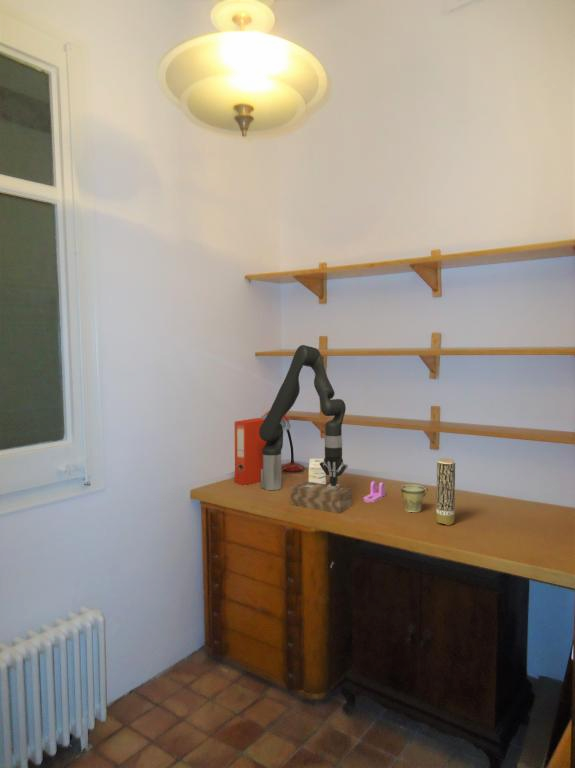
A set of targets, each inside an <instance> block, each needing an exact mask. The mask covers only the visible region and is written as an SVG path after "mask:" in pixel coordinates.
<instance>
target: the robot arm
mask: <svg viewBox="0 0 575 768" xmlns="http://www.w3.org/2000/svg"><path fill="white" fill-rule="evenodd" d="M289 366H290V367H289V368H288V371H287V373H286V376H285V378H284V380H283V382H282V384H281V386H280V388H279V390H278V392H277V394H276V396H275V399H274V401H273V403H272V405H271V407H270V409H269V411H268V413H267V415H266V416H265V418H264V419H265V420H264V421H263V423H262V425H261V426H260V429H259V435H260V437H261V439H262V440H264V441H267V443H266V445H265V446H264V447H263V450H262V456H263V468H262V469H261V482H260V488H261V489H263V490H265V491H278V490H281V489H282V449H283V446H284V428H283V425H282V424H281V421H282V419H283V418H284V417H285V415H286V414H287V413H289V411H290V410H291V409H292V407H293V406H294V404H295V403H296V401H297V398H298V397H299V395H300V390H301V389H300V387H301V386H300V373H301V370H302V368H303V367H304V366H305V367H309V368H311V369H312V370H313V372H314V379H313V386H314V389H315V391H316V393H317V395H318V397H319V404H320V410H321V413H322V414H323V415H324V416H326V417H332V416H333V418H332V419H331V420H328V421H327V422H325V424H324V425H325V426H324V434H325V435H324V458H323V459H324V461H323V462H321V463H320V466H321V467H322V469H323V471H324V472H325V474H326V476H329V484H331V485H334V486H335V485H336V484H338V477H339V476H342V475H343V473H344V472H345V470H346V469H347V468H348V467H349V466H348V464H345V462H344V460H343V436H342V434H343V433H342V428H343V427H342V425H343V421H344V417H345V414H346V409H347V408H346V403H345V401H344V400H343V399H341V398H335V399H333V398H334V396H335V395H336V394H335V390H334V388H333V386H332V383H331V382H330V380H329V377H328V374H327V372H326V368H325V364H324V361H323V358H322V354H321V352H320V350H319V349H317V348H316V347H314V346H309V345H305V344H301V345H299V346H298V347H297V348H296V350H295V352H294V355H293V357H292V360H291V363H290V365H289Z"/></svg>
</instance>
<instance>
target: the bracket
mask: <svg viewBox="0 0 575 768" xmlns="http://www.w3.org/2000/svg"><path fill="white" fill-rule="evenodd" d="M370 482H371V483H370V486H369V487H370V494H367V495H365V496H363V502H365V503H369V502H372V503H376V502H377V500H378V499H379V500H381V499H383V498H384V497H386V494H385V493H386V484H385V482H383V481H382V482H381V481H380V482H379V483H378V487H377V481H375V480H371V481H370ZM377 488H378V489H377ZM377 491H378V492H377ZM383 496H384V497H383ZM382 497H383V498H382ZM380 498H381V499H380ZM379 500H378V501H379ZM375 501H376V502H375Z"/></svg>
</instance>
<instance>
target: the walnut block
mask: <svg viewBox="0 0 575 768" xmlns="http://www.w3.org/2000/svg"><path fill="white" fill-rule="evenodd" d="M307 484H308V485H315V486H314V487H312V488H310V487H303V486H305V485H307ZM327 485H329V484H327V483H326V484H321V483H314V482H309V481H306V480H303V481H301V482H299V483H296V484H295V485H292V486H290V505H291V504H292V505H291V506H294V505H298V506H297V507H300V506H303V507H302V508H306V507H308V508H307V509H311V508H313V509H312V510H317V509H318V511H324V512H328V513H335V514H342V513H343V512H345V511H346V510H348V509H349V508H351V507H352V505H353V502H352V501H353V500H352V498H353V492H352V490H353V488H352V487H347V486H341V485H340V489H339V490H338V491H330V490H327Z"/></svg>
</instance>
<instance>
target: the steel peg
mask: <svg viewBox="0 0 575 768" xmlns="http://www.w3.org/2000/svg"><path fill="white" fill-rule="evenodd" d="M340 486H341V485H340V484H338V483H337V484H336V485H335V486H334V485H331V484H330V483H329V484H328V485H327V490H330V491H338V490H339V489H340Z"/></svg>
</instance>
